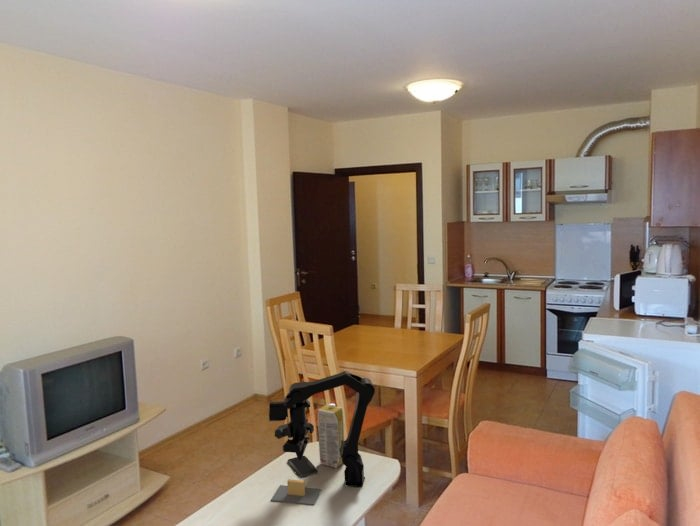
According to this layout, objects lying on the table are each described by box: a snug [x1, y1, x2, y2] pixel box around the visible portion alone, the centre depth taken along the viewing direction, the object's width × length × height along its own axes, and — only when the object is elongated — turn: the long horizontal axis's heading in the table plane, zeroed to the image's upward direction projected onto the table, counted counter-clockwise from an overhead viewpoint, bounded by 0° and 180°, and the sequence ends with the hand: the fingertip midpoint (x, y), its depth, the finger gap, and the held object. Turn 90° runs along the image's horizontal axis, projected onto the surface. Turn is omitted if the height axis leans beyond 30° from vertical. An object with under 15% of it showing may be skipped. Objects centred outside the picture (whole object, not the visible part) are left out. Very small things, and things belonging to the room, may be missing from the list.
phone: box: [287, 455, 319, 478], centre depth 210 cm, size 8×1×15 cm
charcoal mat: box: [270, 484, 322, 506], centre depth 190 cm, size 16×10×1 cm, turn 78°
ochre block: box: [286, 478, 306, 496], centre depth 190 cm, size 6×2×5 cm, turn 78°
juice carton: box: [317, 403, 345, 469], centre depth 211 cm, size 9×8×24 cm
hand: (299, 459), depth 194 cm, fingers closed
